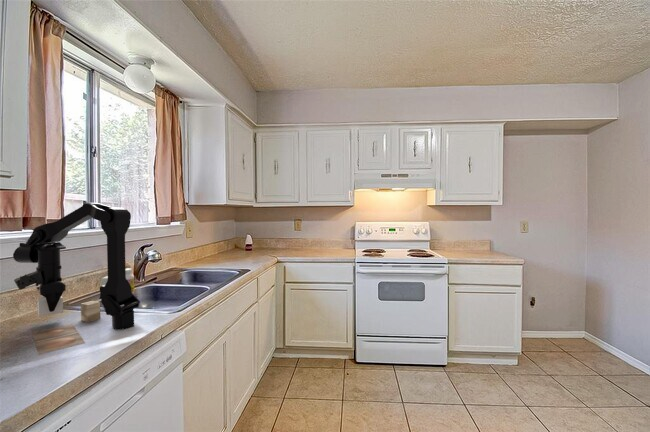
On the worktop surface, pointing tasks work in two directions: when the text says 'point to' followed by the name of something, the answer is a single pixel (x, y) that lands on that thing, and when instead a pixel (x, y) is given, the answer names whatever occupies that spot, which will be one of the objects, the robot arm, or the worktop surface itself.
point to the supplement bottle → (130, 278)
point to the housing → (44, 309)
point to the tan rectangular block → (90, 311)
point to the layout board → (57, 338)
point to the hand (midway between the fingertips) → (50, 309)
